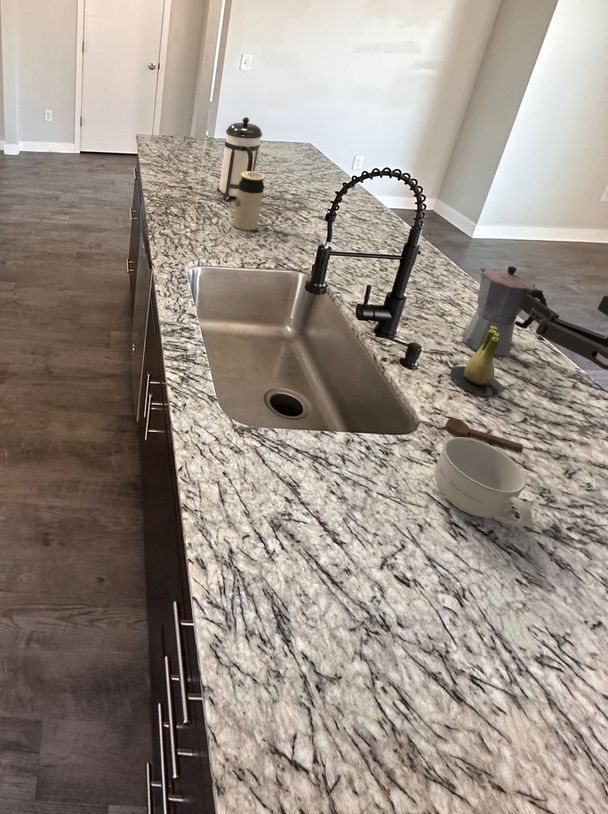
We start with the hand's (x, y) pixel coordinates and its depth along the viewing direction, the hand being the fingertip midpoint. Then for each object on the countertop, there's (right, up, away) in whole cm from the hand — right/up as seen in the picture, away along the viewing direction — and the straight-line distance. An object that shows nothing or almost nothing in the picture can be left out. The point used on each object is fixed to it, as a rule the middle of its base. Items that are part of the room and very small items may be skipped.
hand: (563, 301), depth 91 cm
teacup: (-20, -32, -7) cm, 38 cm away
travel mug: (-30, +14, +88) cm, 94 cm away
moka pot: (+10, -14, +31) cm, 36 cm away
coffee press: (-26, +26, +113) cm, 119 cm away
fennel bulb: (-1, -19, +20) cm, 27 cm away
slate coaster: (-1, -19, +20) cm, 28 cm away
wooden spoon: (-9, -26, +6) cm, 28 cm away
